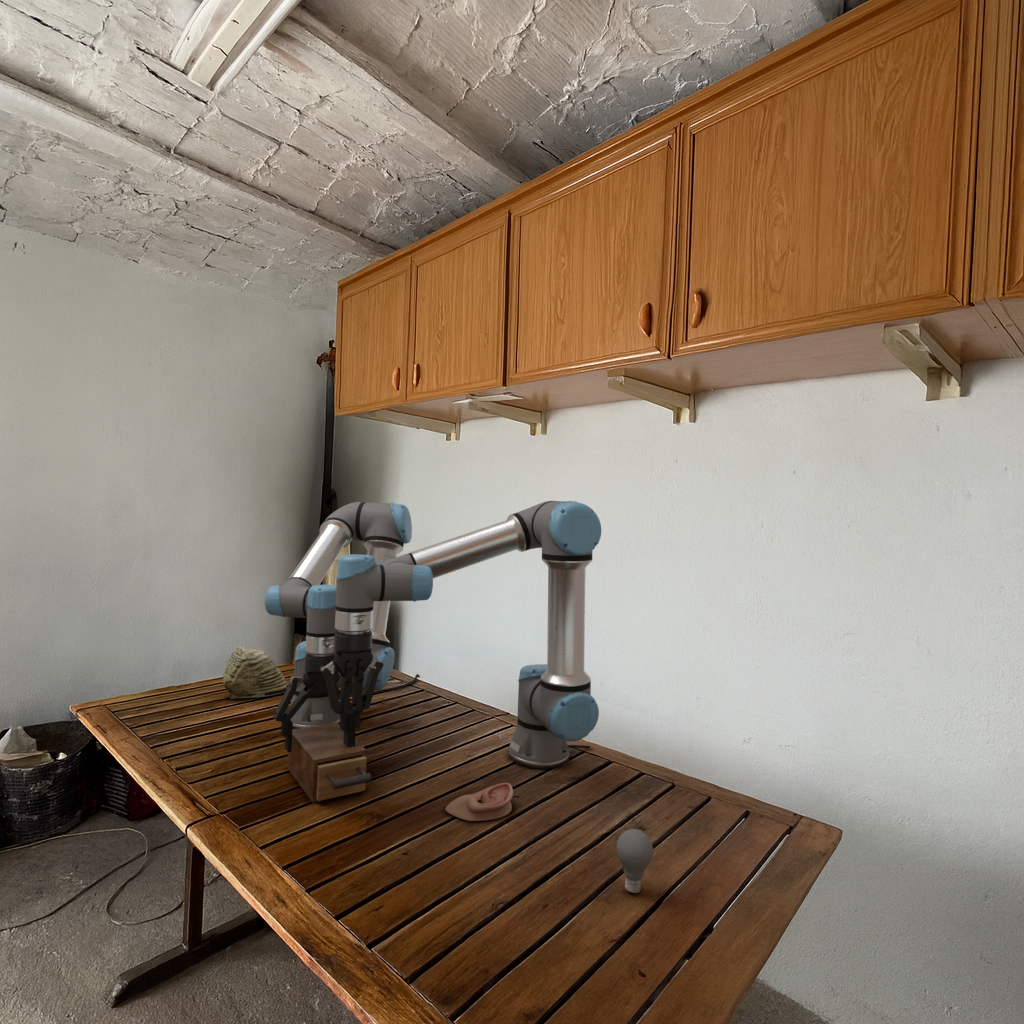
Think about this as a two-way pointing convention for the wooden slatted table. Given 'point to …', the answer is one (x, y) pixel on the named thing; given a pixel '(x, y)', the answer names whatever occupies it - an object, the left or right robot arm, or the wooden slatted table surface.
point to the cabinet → (317, 753)
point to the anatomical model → (483, 804)
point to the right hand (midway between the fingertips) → (349, 744)
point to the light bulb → (634, 857)
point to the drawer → (341, 777)
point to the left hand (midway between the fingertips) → (318, 745)
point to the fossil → (252, 674)
